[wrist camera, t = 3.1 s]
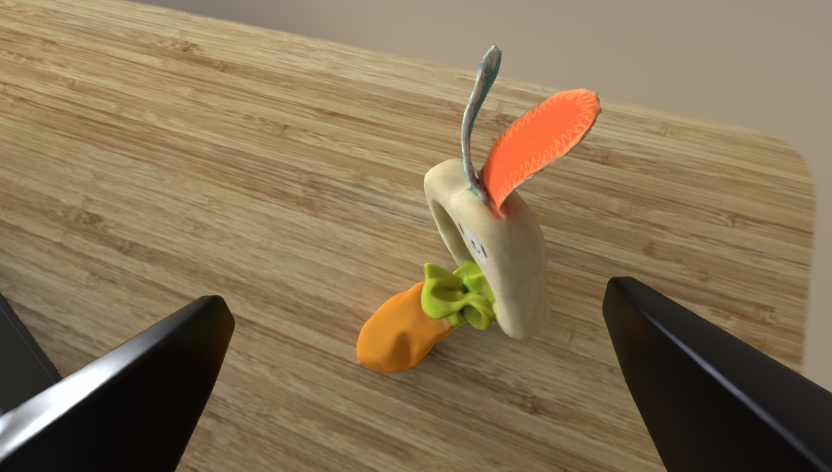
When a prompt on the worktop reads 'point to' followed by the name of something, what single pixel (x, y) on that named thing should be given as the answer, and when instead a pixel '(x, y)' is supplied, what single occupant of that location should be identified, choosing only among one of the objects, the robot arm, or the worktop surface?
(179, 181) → the worktop surface
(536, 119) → the rattle
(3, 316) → the tray
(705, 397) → the robot arm
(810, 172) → the worktop surface
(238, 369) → the worktop surface
